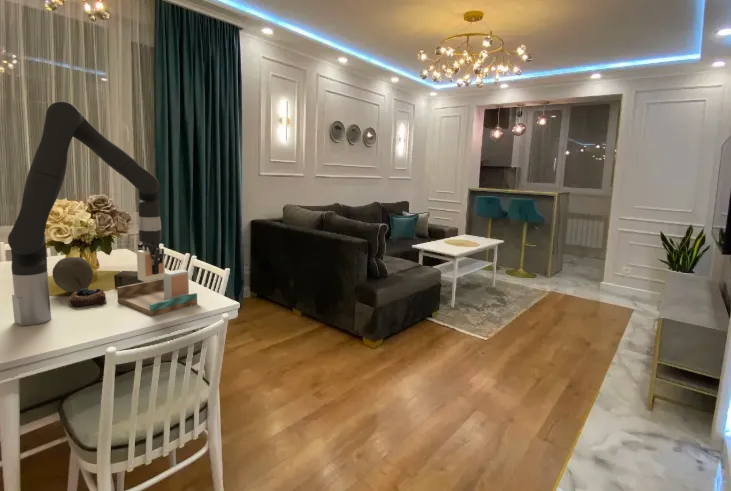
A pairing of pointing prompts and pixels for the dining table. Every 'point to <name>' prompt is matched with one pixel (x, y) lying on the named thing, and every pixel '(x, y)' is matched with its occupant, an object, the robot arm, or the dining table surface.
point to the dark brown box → (127, 278)
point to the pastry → (87, 298)
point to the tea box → (148, 267)
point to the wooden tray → (152, 298)
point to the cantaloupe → (72, 274)
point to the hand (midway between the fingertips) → (151, 272)
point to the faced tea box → (176, 284)
